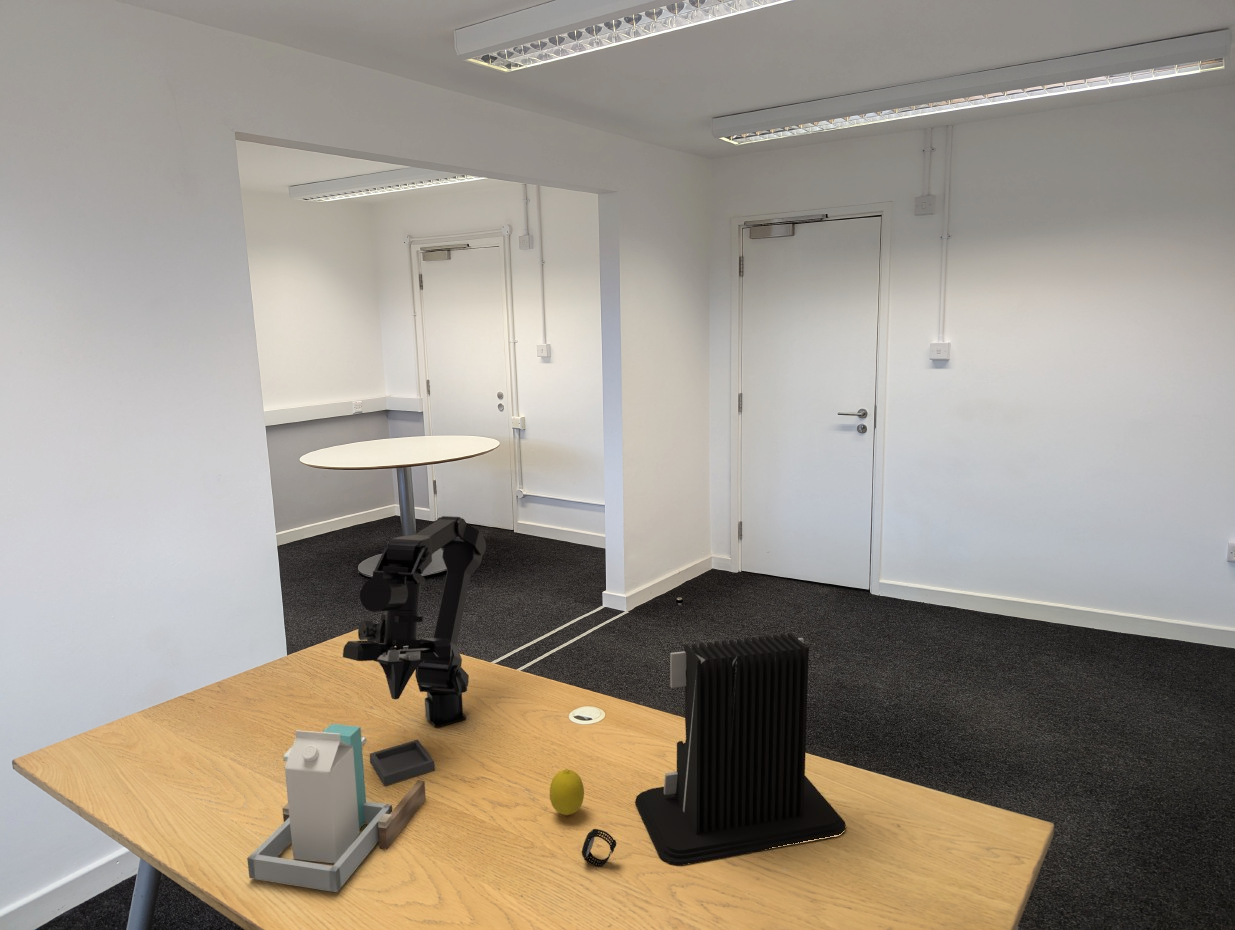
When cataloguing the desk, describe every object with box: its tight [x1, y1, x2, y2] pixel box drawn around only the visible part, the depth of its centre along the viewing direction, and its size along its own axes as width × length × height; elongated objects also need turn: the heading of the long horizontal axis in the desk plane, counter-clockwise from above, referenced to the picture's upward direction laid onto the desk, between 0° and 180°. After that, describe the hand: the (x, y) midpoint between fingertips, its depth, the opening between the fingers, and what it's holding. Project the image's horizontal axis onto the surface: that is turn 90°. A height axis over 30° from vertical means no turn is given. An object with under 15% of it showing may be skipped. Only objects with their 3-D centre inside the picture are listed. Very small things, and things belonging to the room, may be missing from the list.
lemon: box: [549, 768, 585, 817], centre depth 129 cm, size 6×6×8 cm
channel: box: [282, 779, 427, 850], centre depth 130 cm, size 13×18×4 cm
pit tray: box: [369, 739, 436, 787], centre depth 145 cm, size 9×9×2 cm
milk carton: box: [284, 729, 360, 864], centre depth 121 cm, size 7×7×19 cm
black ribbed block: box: [634, 632, 847, 866], centre depth 127 cm, size 30×19×30 cm, turn 104°
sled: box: [246, 723, 393, 893], centre depth 120 cm, size 16×14×16 cm
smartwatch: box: [581, 828, 617, 868], centre depth 118 cm, size 4×5×5 cm
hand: (395, 698), depth 142 cm, fingers closed
